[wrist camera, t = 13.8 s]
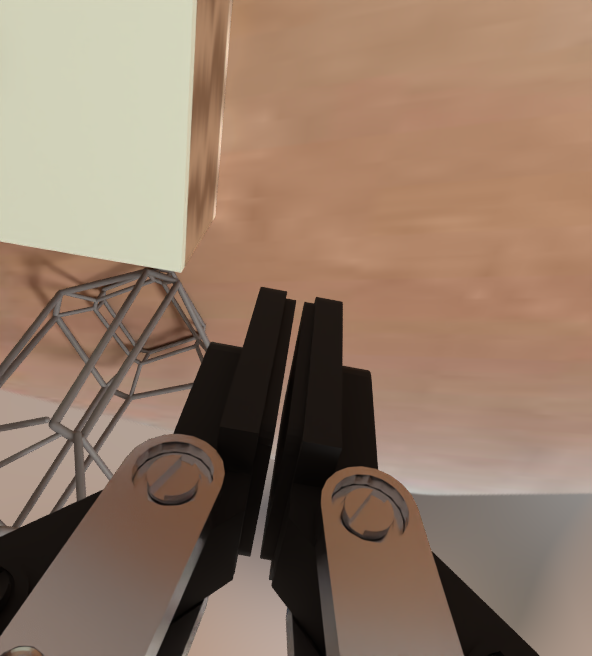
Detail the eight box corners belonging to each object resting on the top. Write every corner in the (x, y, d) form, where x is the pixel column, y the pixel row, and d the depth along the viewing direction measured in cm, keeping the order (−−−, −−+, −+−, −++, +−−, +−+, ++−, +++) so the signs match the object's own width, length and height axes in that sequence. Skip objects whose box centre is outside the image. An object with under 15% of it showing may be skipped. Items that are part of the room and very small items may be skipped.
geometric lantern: (253, 355, 52) (126, 809, 23) (125, 384, 56) (-118, 799, 27) (187, 218, 44) (-130, 649, 15) (43, 263, 48) (-418, 669, 19)
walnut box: (-9, -159, 32) (-136, -217, 23) (241, -108, 32) (204, -148, 24) (34, 182, 44) (-39, 224, 35) (215, 216, 44) (184, 266, 36)
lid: (-144, -221, 23) (-162, -229, 22) (203, -148, 24) (199, -153, 23) (-43, 226, 35) (-52, 232, 34) (184, 266, 36) (181, 272, 35)
